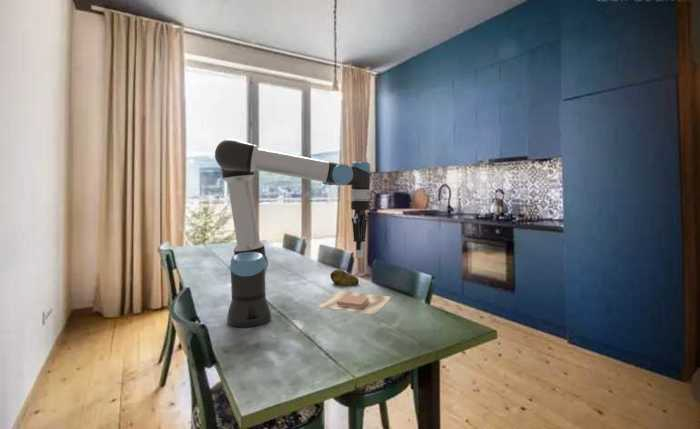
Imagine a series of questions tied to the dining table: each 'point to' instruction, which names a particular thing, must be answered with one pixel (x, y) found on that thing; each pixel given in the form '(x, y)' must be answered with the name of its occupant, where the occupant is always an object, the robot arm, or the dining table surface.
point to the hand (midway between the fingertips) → (359, 257)
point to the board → (370, 308)
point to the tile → (353, 301)
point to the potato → (343, 278)
